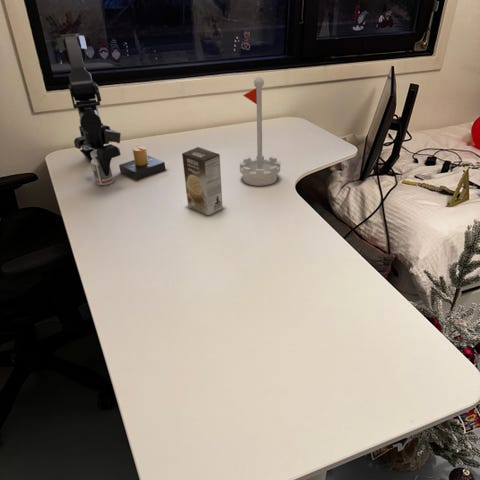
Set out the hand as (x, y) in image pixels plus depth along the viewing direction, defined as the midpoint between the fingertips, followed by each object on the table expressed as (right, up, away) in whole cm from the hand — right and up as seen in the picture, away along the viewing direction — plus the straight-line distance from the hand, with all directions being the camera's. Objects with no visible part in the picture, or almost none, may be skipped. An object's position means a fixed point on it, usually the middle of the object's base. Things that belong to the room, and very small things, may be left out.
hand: (102, 173), depth 152 cm
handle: (+12, +5, +6) cm, 14 cm away
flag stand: (+52, -2, -1) cm, 52 cm away
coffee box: (+35, -15, -16) cm, 41 cm away
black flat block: (+12, +3, +8) cm, 14 cm away
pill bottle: (0, -2, +2) cm, 3 cm away
